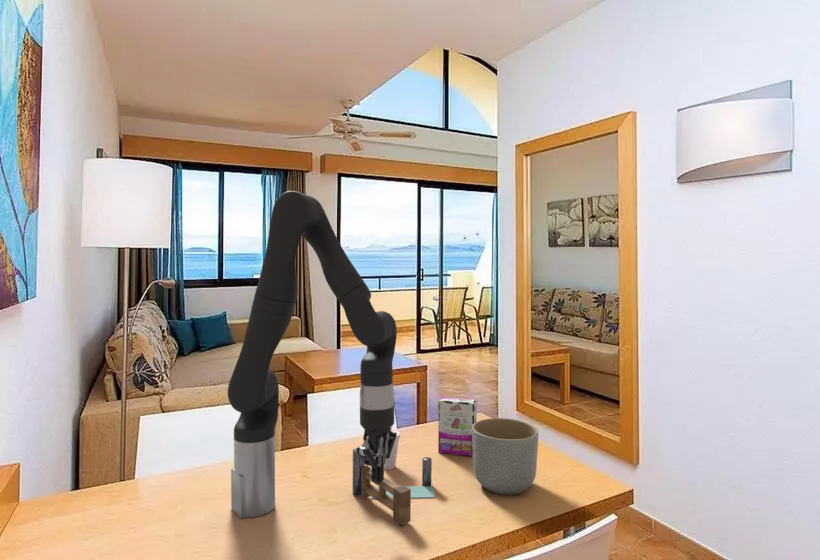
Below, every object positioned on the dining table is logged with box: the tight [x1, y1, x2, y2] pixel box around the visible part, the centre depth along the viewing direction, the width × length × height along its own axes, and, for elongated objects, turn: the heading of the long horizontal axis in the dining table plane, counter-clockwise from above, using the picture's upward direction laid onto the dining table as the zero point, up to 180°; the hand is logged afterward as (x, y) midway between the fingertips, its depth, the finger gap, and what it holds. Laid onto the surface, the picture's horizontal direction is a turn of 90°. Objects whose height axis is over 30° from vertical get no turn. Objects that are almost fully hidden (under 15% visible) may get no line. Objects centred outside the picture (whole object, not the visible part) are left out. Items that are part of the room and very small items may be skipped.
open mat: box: [370, 485, 436, 500], centre depth 127 cm, size 16×6×1 cm, turn 93°
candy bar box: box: [437, 396, 478, 458], centre depth 153 cm, size 11×5×16 cm, turn 73°
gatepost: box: [352, 447, 366, 497], centre depth 126 cm, size 3×3×11 cm
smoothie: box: [384, 425, 401, 471], centre depth 142 cm, size 6×6×14 cm
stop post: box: [421, 456, 433, 487], centre depth 131 cm, size 2×2×7 cm
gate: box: [360, 465, 412, 526], centre depth 118 cm, size 17×3×7 cm, turn 38°
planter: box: [472, 417, 539, 496], centre depth 131 cm, size 17×17×15 cm
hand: (377, 481), depth 110 cm, fingers closed
